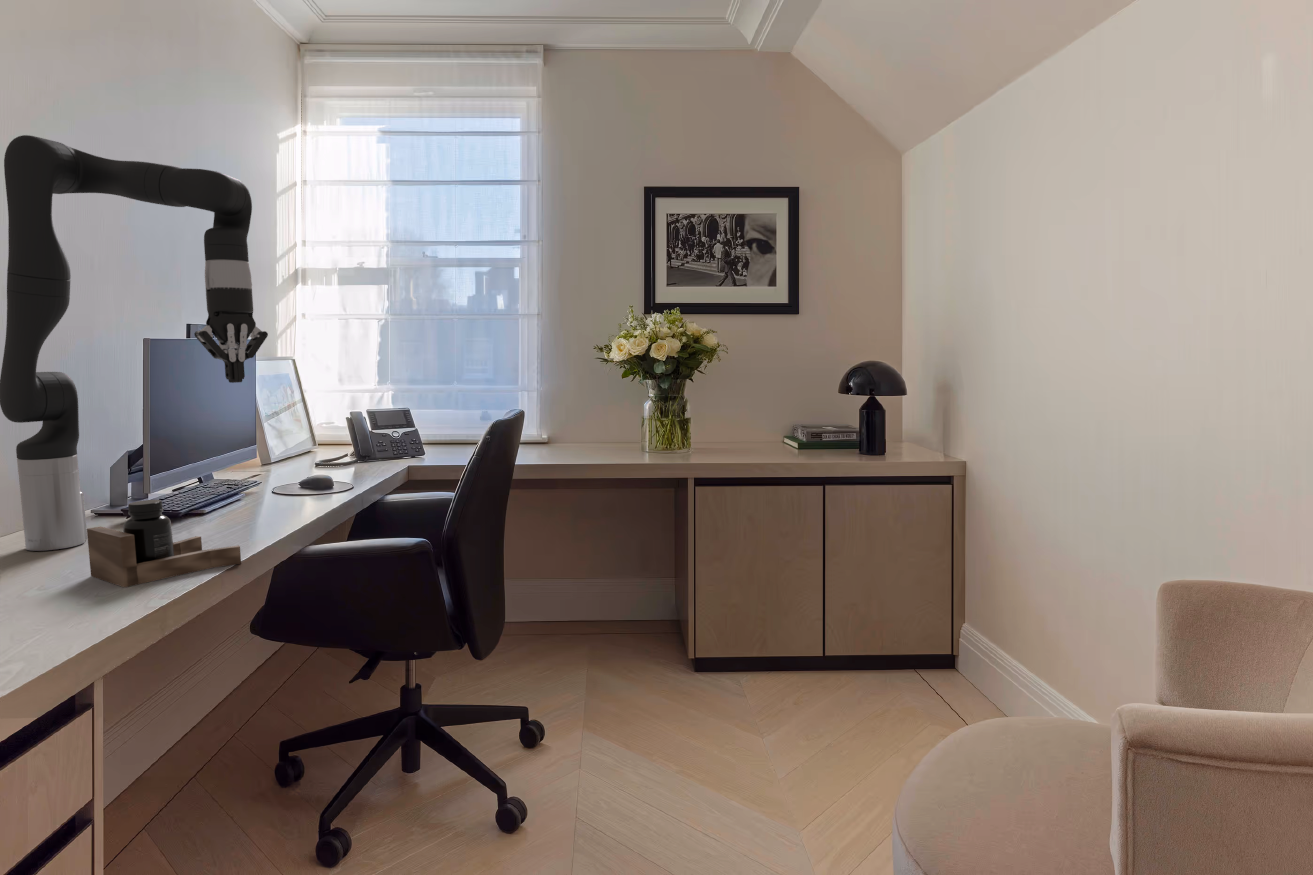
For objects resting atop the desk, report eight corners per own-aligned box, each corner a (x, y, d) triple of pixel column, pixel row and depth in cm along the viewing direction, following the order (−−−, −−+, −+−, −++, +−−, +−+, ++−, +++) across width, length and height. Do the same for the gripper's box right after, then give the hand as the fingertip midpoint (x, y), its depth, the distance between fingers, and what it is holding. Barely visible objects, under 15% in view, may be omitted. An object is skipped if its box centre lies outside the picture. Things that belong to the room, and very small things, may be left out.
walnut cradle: (199, 551, 151) (196, 509, 150) (243, 562, 143) (240, 517, 142) (86, 574, 136) (82, 527, 135) (129, 588, 128) (124, 538, 127)
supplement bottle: (172, 564, 142) (167, 496, 141) (177, 573, 137) (172, 502, 135) (125, 571, 138) (119, 501, 137) (129, 580, 132) (122, 507, 131)
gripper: (252, 290, 157) (258, 380, 159) (180, 286, 146) (188, 383, 148) (274, 288, 152) (280, 381, 154) (202, 284, 142) (209, 384, 143)
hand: (235, 382), depth 151 cm, fingers closed
